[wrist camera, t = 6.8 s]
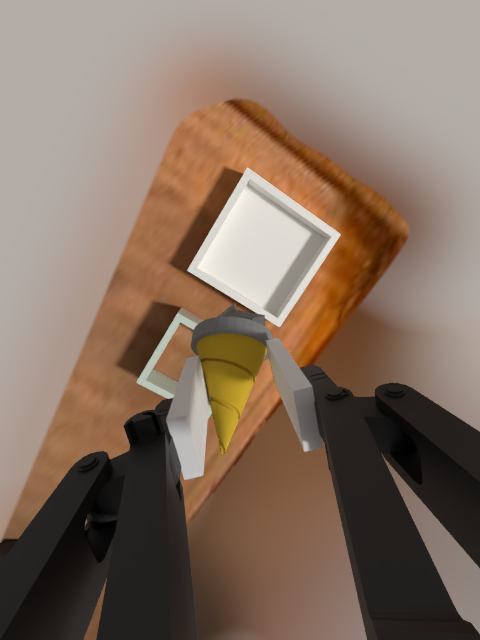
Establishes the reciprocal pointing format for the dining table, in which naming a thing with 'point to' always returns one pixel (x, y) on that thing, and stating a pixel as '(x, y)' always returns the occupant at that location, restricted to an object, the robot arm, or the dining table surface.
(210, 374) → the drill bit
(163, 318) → the dining table surface
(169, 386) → the pale green square frame
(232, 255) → the tray
